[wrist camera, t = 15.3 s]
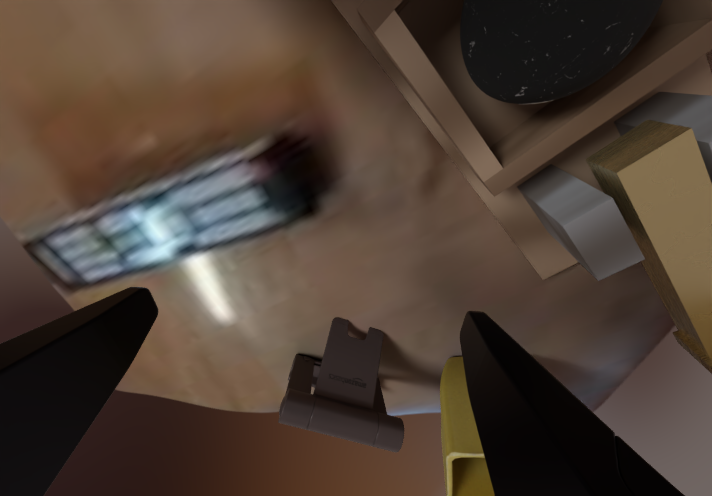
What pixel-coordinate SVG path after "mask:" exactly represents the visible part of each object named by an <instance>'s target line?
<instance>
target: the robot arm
mask: <svg viewBox="0 0 712 496" xmlns="http://www.w3.org/2000/svg"><path fill="white" fill-rule="evenodd" d="M157 315H158V307H157V305H156V303H155V301H154V299H153V297H152V295H151V292H150V291H149V290H148V289H147V288H143V287H130V288H127V289H125V290H122V291H120V292H118V293H116V294H113V295H111V296H109V297H106V298H104V299H102V300H100V301H97V302H95V303H93V304H90V305H88V306H86V307H84V308H81V309H79V310H77V311H74V312H72V313H70V314H68V315H65V316H63V317H61V318H58V319H56V320H54V321H52V322H49V323H47V324H45V325H42V326H40V327H38V328H36V329H33V330H31V331H29V332H27V333H24V334H22V335H20V336H17V337H15V338H13V339H11V340H8V341H6V342H3V343H1V344H0V496H44V494H45V493H46V491H47V490H48V488H49V487H50V485H51V484H52V482H53V481H54V479H55V478H56V476H57V475H58V473H59V472H60V470H61V469H62V467H63V466H64V464H65V463H66V461H67V460H68V458H69V457H70V455H71V454H72V452H73V451H74V449H75V448H76V446H77V445H78V443H79V442H80V441H81V439H82V437H83V436H84V435H85V433H86V432H87V430H88V428H89V427H90V426H91V424H92V422H93V421H94V420H95V418H96V417H97V415H98V414H99V412H100V411H101V409H102V408H103V406H104V405H105V403H106V402H107V400H108V399H109V397H110V396H111V394H112V393H113V391H114V390H115V388H116V387H117V385H118V384H119V382H120V381H121V379H122V378H123V376H124V375H125V373H126V372H127V370H128V368H129V367H130V365H131V364H132V362H133V360H134V358H135V357H136V355H137V353H138V351H139V349H140V347H141V345H142V344H143V342H144V340H145V338H146V336H147V334H148V333H149V331H150V329H151V327H152V325H153V323H154V322H155V320H156V318H157ZM460 343H461V350H462V356H463V363H464V370H465V376H466V383H467V389H468V395H469V399H470V403H471V407H472V411H473V415H474V419H475V423H476V426H477V430H478V434H479V438H480V441H481V445H482V449H483V453H484V457H485V460H486V464H487V468H488V472H489V476H490V479H491V483H492V487H493V491H494V495H495V496H685V495H683V494H682V493H681V492H680V491H679V490H678V489H676V488H675V487H674V486H673V485H672V484H671V483H670V482H668V481H667V480H666V479H665V478H664V477H663V476H662V475H661V474H659V473H658V472H657V471H656V470H655V469H654V468H653V467H652V466H651V465H649V464H648V463H647V462H646V461H645V460H644V459H643V458H642V457H641V456H639V455H638V454H637V453H636V452H635V451H634V450H633V449H632V448H631V447H630V446H629V445H627V444H626V443H625V442H624V441H623V440H622V439H621V438H620V437H618V436H615V433H614V432H613V431H612V430H611V429H610V428H609V427H608V426H607V425H606V424H605V423H604V422H602V421H601V420H600V419H599V418H598V417H597V416H596V415H595V414H594V413H593V412H592V411H591V410H589V409H588V408H587V407H586V406H585V405H584V404H583V403H582V402H581V401H580V400H579V399H578V398H576V397H575V396H574V395H573V394H572V393H571V392H570V391H569V390H568V389H567V388H566V387H565V386H564V385H562V384H561V383H560V382H559V381H558V380H557V379H556V378H555V377H554V376H553V375H552V374H551V373H549V372H548V371H547V370H546V369H545V368H544V367H543V366H542V365H541V364H540V363H539V362H538V361H536V360H535V359H534V358H533V357H532V356H531V355H530V354H529V353H528V352H527V351H526V350H525V349H523V348H522V347H521V346H520V345H519V344H518V343H517V342H516V341H515V340H514V339H513V338H512V337H510V336H509V335H508V334H507V333H506V332H505V331H504V330H503V329H502V328H501V327H500V326H499V325H497V324H496V323H495V322H494V321H493V320H492V319H491V318H490V317H489V316H488V315H487V314H485V313H484V312H479V311H468V312H467V313H466V316H465V319H464V322H463V325H462V328H461V331H460Z"/></svg>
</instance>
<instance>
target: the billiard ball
mask: <svg viewBox="0 0 712 496" xmlns="http://www.w3.org/2000/svg"><path fill="white" fill-rule="evenodd" d="M662 2H663V0H464V3H463V8H462V14H461V23H460V43H461V51H462V56H463V60H464V63H465V66H466V69H467V71H468V74H469V75H470V77H471V79H472V80H473V82H474V83H475V85H476V86H477V87H478V88H479V89H480V90H481V91H482V92H484V93H485V94H486V95H488V96H490V97H492V98H494V99H496V100H499V101H502V102H506V103H513V104H537V103H544V102H548V101H553V100H556V99H560V98H563V97H566V96H568V95H571V94H573V93H575V92H577V91H580V90H582V89H583V88H585V87H587V86H589V85H591V84H592V83H594V82H596V81H597V80H599V79H600V78H601V77H603V76H604V75H606V74H607V73H608V72H609V71H611V70H612V69H613V68H614V67H616V66H617V65H618V64H619V63H620V62H621V61H622V60H623V59H624V58H625V57H626V56H627V55H628V54H629V53H630V52H631V50H632V49H633V48H634V47H635V46H636V44H637V43H638V42H639V40H640V39H641V38H642V36H643V35H644V34H645V32H646V31H647V29H648V27H649V26H650V24H651V23H652V21H653V19H654V17H655V16H656V14H657V12H658V10H659V8H660V6H661V4H662Z"/></svg>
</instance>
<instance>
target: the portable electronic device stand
mask: <svg viewBox="0 0 712 496" xmlns="http://www.w3.org/2000/svg"><path fill="white" fill-rule="evenodd" d="M382 341H383V333H382V332H381V331H380V330H378V329H374V328H371V327H370V328H369V330H368V334H367V336H366V339H365V340H360V339H357V338H354V337H351V336H349V335H348V320H345V319H342V318H334V319H333V321H332V325H331V329H330V332H329V336H328V340H327V344H326V348H325V352H324V355H323V359H322V361H318V360H315V359H311V358H310V357H307V356H301V355H297V354H296V356H295V358H294V361H293V364H292V368H291V371H290V374H289V378H288V380H289V383H288V387H287V391H286V394H285V396H284V398H283V400H282V403H281V406H280V411H279V415H280V418H279V423H283V424H286V425H290V426H294V427H298V428H302V429H306V430H310V431H314V432H318V433H322V434H326V435H330V436H334V437H338V438H342V439H346V440H350V441H354V442H358V443H362V444H365V445H369V446H373V447H377V448H381V449H385V450H389V451H392V452H398V451H399V450H400V449H401V446H402V443H403V438H404V425H403V421H402V419H401V418H397V417H394V416H390V415H387V412H386V408H385V403H384V399H383V395H382V390H381V386H380V382H379V378H378V377H377V375H378V368H379V361H380V355H381V348H382ZM311 386H312V387H315V390H314V394H313V395H312V394H311Z"/></svg>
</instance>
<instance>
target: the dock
mask: <svg viewBox="0 0 712 496" xmlns="http://www.w3.org/2000/svg"><path fill="white" fill-rule="evenodd" d="M331 1H332V2H333V4H334V5H335V6H336V8H337V9H338V10H339V12H340V13H341V14H342V16H343V17H344V18H345V20H346V21H347V22H348V23H349V25H350V26H351V27H352V29H353V30H354V31H355V33H356V34H357V35H358V37H359V38H360V39H361V41H362V42H363V43H364V45H365V46H366V47H367V49H368V50H369V51H370V52H371V54H372V55H373V56H374V58H375V59H376V60H377V62H378V63H379V64H380V66H381V67H382V68H383V70H384V71H385V72H386V74H387V75H388V76H389V78H390V79H391V80H392V82H393V83H394V84H395V85H396V87H397V88H398V89H399V91H400V92H401V93H402V95H403V96H404V97H405V99H406V100H407V101H408V103H409V104H410V105H411V107H412V108H413V109H414V111H415V112H416V113H417V115H418V116H419V117H420V118H421V120H422V121H423V122H424V124H425V125H426V126H427V128H428V129H429V130H430V132H431V133H432V134H433V136H434V137H435V138H436V140H437V141H438V142H439V144H440V145H441V146H442V147H443V149H444V150H445V151H446V153H447V154H448V155H449V157H450V158H451V159H452V161H453V162H454V163H455V165H456V166H457V167H458V169H459V170H460V171H461V173H462V174H463V175H464V177H465V178H466V179H467V180H468V182H469V183H470V184H471V186H472V187H473V188H474V190H475V191H476V192H477V194H478V195H479V196H480V198H481V199H482V200H483V202H484V203H485V204H486V206H487V207H488V208H489V209H490V211H491V212H492V213H493V215H494V216H495V217H496V219H497V220H498V221H499V223H500V224H501V225H502V227H503V228H504V229H505V231H506V232H507V233H508V235H509V236H510V237H511V239H512V240H513V241H514V242H515V244H516V245H517V246H518V248H519V249H520V250H521V252H522V253H523V254H524V256H525V257H526V258H527V260H528V261H529V262H530V264H531V265H532V266H533V268H534V269H535V270H536V271H537V273H538V274H539V275H540V277H541V278H542V279H543V280H545V279H547V278H549V277H550V276H552V275H554V274H556V273H558V272H560V271H562V270H564V269H566V268H568V267H570V266H572V265H574V264H576V263H578V262H579V263H580V264H581V265H582V266H583V267H584V268H585V269H586V270H587V271H589V272H590V273H591V274H592V275H593V276H594V277H595V278H596V279H597V280H598V281H600V280H602V279H604V278H606V277H608V276H610V275H612V274H615V273H617V272H619V271H621V270H623V269H625V268H627V267H630V266H632V265H634V264H636V263H638V262H640V261H642V260H644V259H645V258H644V256H643V254H642V252H641V250H640V248H639V247H638V245H637V243H636V241H635V239H634V237H633V235H632V233H631V232H630V230H629V228H628V226H627V224H626V222H625V220H624V218H623V216H622V215H621V213H620V211H619V209H618V207H617V205H616V203H615V201H614V200H613V198H612V197H610V196H608V195H607V194H605V193H603V191H602V189H601V187H600V185H599V184H598V182H597V180H596V178H595V176H594V174H593V173H592V171H591V169H590V167H589V165H588V163H587V162H586V160H585V159H587V158H588V157H590V156H591V155H593V154H594V153H596V152H597V151H599V150H601V149H602V148H604V147H605V146H607V145H608V144H610V143H611V142H613V141H615V140H616V139H618V138H619V137H621V136H622V135H624V134H625V133H627V132H628V131H630V130H632V129H633V128H635V127H636V126H638V125H639V124H641V123H642V122H644V121H646V120H652V121H657V122H663V123H668V124H673V125H679V126H684V127H689V128H692V130H693V132H694V135H695V138H696V141H697V144H698V147H699V149H700V152H701V155H702V158H703V161H704V163H705V166H706V169H707V172H708V175H709V178H710V180H711V183H712V73H711V69H710V66H709V63H708V59H707V56H706V53H708V52H709V51H711V50H712V0H663V2H662V4H661V6H660V8H659V10H658V12H657V14H656V16H655V17H654V19H653V21H652V23H651V24H650V26H649V27H648V29H647V31H646V32H645V34H644V35H643V36H642V38H641V39H640V40H639V42H638V43H637V44H636V46H635V47H634V48H633V49H632V50H631V52H630V53H629V54H628V55H627V56H626V57H625V58H624V59H623V60H622V61H621V62H620V63H619V64H618V65H617V66H616V67H614V68H613V69H612V70H611V71H609V72H608V73H607V74H606V75H604V76H603V77H601V78H600V79H599V80H597V81H596V82H594V83H592V84H591V85H589V86H587V87H585V88H583V89H582V90H580V91H577V92H575V93H573V94H571V95H568V96H566V97H563V98H560V99H556V100H553V101H548V102H544V103H537V104H513V103H506V102H502V101H499V100H496V99H494V98H492V97H490V96H488V95H486V94H485V93H484V92H482V91H481V90H480V89H479V88H478V87H477V86H476V85H475V83H474V82H473V80H472V79H471V77H470V75H469V74H468V71H467V69H466V66H465V63H464V60H463V56H462V51H461V43H460V23H461V14H462V8H463V3H464V0H331Z"/></svg>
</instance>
